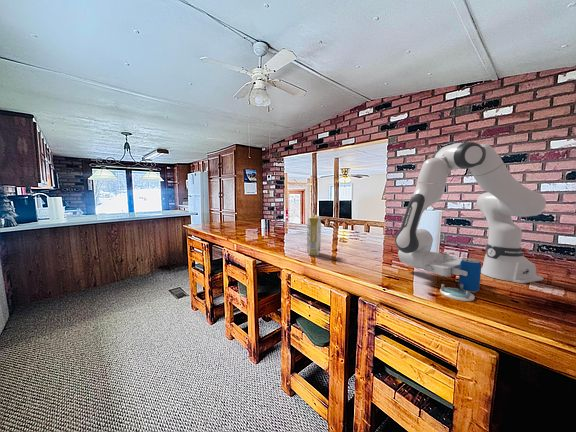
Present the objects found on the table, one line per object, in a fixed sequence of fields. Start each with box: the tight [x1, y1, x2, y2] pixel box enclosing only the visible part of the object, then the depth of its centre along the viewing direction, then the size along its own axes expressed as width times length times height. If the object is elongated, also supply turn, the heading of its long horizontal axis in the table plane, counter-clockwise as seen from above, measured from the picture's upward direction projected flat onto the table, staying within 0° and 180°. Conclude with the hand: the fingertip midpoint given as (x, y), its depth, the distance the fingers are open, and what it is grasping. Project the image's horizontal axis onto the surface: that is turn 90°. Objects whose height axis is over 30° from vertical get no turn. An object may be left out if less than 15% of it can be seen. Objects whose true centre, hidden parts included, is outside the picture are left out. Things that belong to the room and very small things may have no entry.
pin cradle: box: [439, 283, 476, 302], centre depth 88 cm, size 10×10×3 cm
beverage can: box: [458, 257, 482, 294], centre depth 92 cm, size 6×6×12 cm
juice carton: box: [306, 214, 322, 257], centre depth 144 cm, size 9×8×24 cm
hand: (472, 271), depth 91 cm, fingers closed on beverage can, 6 cm apart
